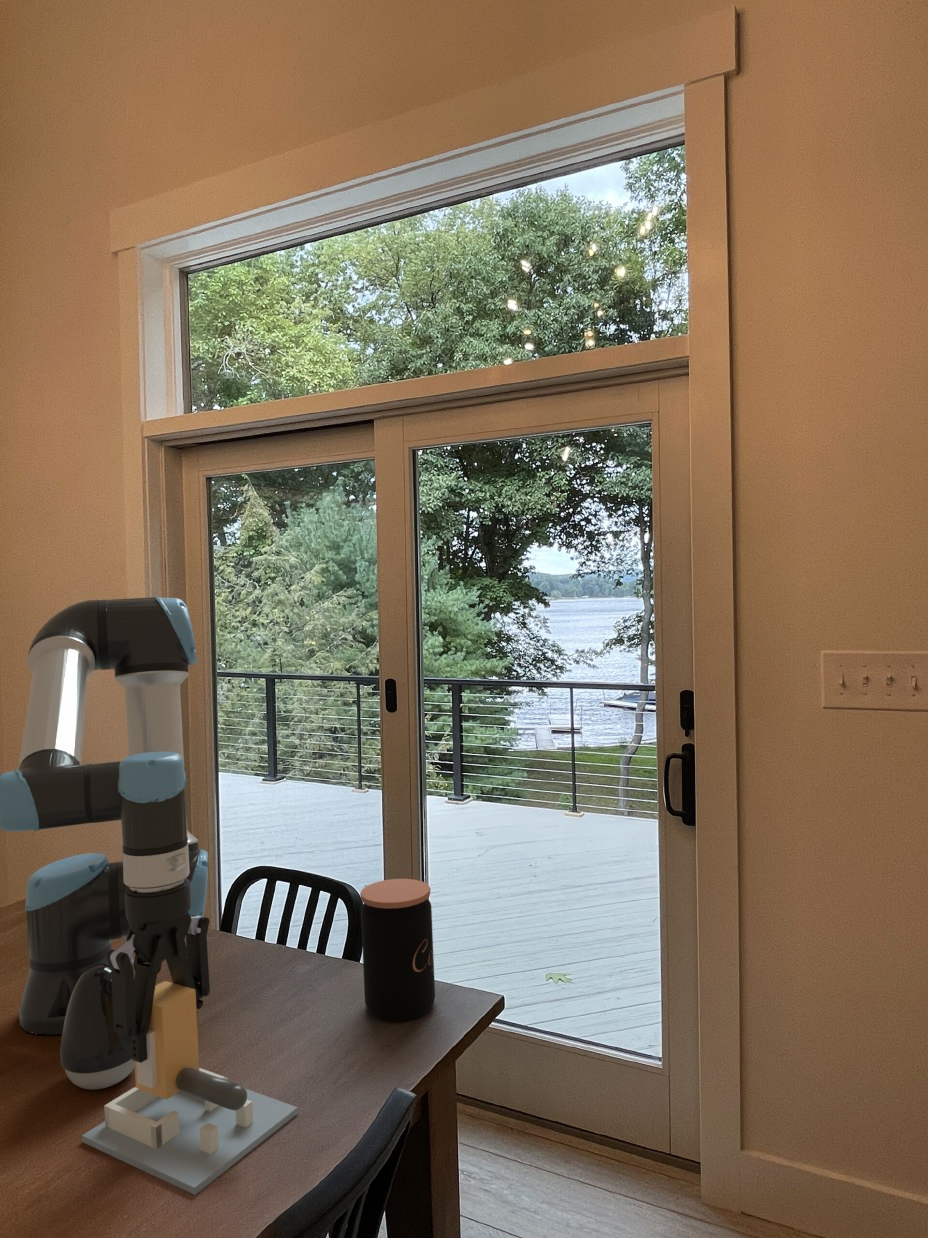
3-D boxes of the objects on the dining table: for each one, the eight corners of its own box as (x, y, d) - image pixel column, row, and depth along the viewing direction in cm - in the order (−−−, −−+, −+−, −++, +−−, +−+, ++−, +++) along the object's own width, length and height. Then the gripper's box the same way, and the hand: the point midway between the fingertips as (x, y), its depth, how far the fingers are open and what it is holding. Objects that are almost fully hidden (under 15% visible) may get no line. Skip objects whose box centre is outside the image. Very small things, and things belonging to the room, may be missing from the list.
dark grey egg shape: (94, 1110, 107) (88, 990, 107) (45, 1087, 113) (39, 973, 112) (162, 1070, 116) (156, 958, 115) (113, 1051, 121) (108, 944, 121)
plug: (135, 1088, 104) (131, 997, 103) (169, 1067, 108) (164, 981, 108) (227, 1123, 96) (223, 1026, 95) (260, 1100, 100) (255, 1006, 100)
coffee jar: (425, 1026, 125) (420, 904, 124) (355, 1022, 127) (350, 901, 126) (442, 992, 135) (437, 879, 135) (377, 989, 137) (372, 877, 137)
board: (82, 1142, 101) (80, 1114, 101) (189, 1074, 114) (188, 1050, 114) (194, 1195, 91) (193, 1164, 91) (297, 1114, 105) (296, 1087, 105)
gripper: (113, 911, 94) (123, 1121, 95) (235, 864, 110) (243, 1045, 110) (70, 901, 98) (81, 1103, 99) (194, 857, 114) (202, 1032, 114)
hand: (166, 1072), depth 104 cm, fingers closed on plug, 5 cm apart
